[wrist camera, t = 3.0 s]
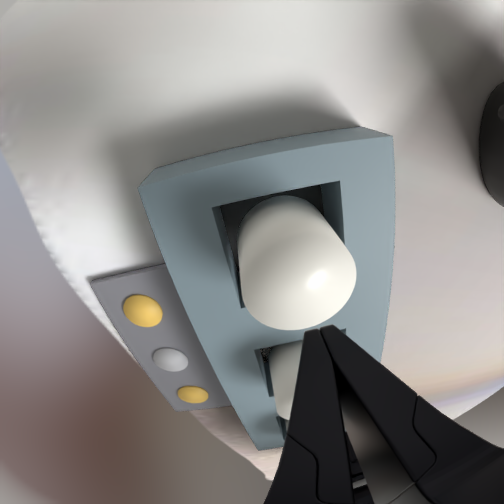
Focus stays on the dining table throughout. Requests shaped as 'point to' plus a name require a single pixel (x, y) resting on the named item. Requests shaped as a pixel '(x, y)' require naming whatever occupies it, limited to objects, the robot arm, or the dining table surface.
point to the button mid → (284, 374)
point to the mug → (493, 144)
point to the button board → (223, 264)
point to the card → (161, 336)
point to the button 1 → (292, 264)
